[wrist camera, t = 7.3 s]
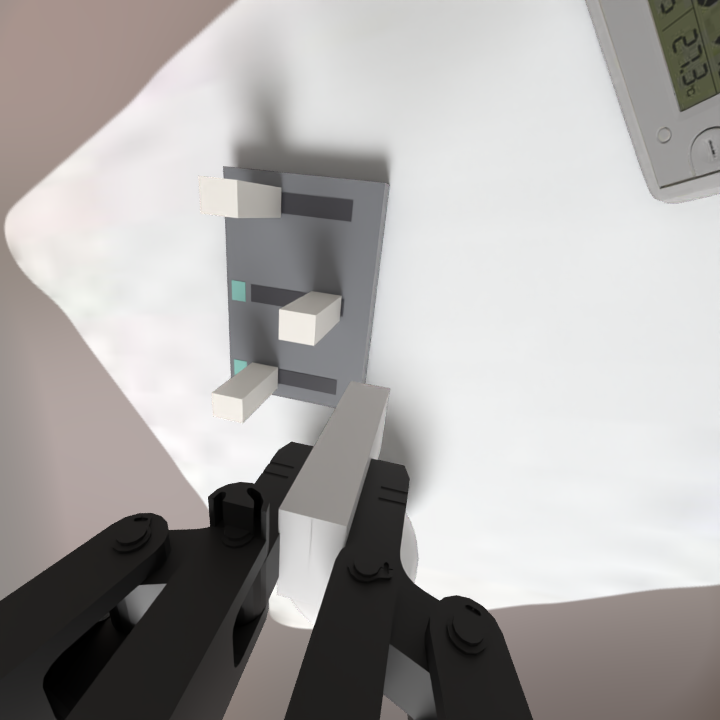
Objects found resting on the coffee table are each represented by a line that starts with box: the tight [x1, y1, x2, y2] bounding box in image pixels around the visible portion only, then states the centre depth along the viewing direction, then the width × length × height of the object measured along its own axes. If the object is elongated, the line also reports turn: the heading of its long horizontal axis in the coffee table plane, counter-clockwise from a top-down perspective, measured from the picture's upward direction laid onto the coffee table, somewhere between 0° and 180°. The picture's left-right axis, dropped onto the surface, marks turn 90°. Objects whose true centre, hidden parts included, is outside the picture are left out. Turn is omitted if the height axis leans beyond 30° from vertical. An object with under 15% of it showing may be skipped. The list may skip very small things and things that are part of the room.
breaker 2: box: [212, 362, 278, 423], centre depth 29 cm, size 2×2×6 cm
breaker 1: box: [198, 176, 281, 218], centre depth 24 cm, size 2×2×6 cm
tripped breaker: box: [279, 291, 342, 346], centre depth 25 cm, size 2×2×6 cm
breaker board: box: [223, 166, 390, 408], centre depth 30 cm, size 12×18×2 cm, turn 174°
